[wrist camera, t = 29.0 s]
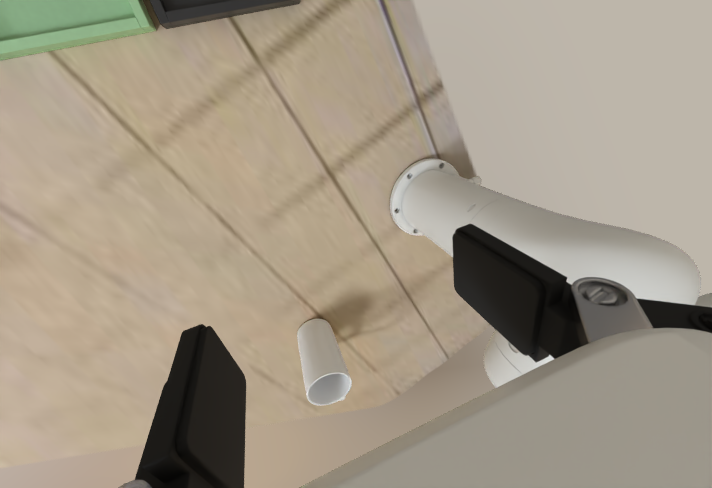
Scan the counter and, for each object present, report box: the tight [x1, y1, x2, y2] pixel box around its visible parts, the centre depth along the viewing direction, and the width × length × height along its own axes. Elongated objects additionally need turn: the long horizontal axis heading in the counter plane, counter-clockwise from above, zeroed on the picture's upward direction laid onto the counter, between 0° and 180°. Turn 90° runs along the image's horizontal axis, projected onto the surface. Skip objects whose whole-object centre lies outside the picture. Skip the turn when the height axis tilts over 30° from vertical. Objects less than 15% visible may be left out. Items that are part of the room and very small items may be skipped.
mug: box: [297, 319, 352, 405], centre depth 46 cm, size 10×7×12 cm, turn 24°
